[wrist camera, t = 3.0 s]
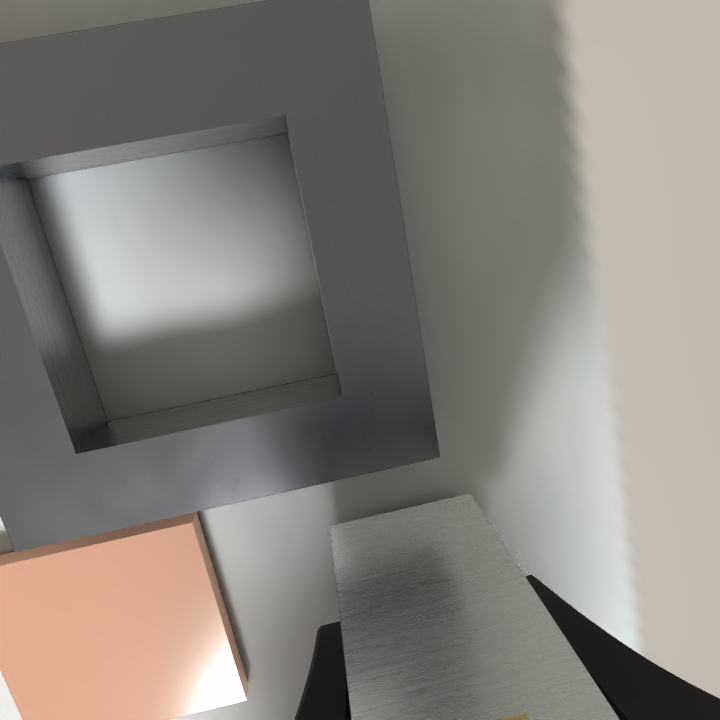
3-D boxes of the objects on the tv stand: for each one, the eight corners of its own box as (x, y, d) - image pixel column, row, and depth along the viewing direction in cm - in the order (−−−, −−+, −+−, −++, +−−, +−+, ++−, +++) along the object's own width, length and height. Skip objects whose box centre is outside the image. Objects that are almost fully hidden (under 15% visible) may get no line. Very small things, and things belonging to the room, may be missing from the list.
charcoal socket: (421, 426, 15) (439, 456, 13) (54, 507, 14) (15, 552, 12) (354, 23, 12) (366, -16, 10) (-101, 99, 11) (-184, 73, 9)
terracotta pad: (248, 683, 16) (246, 700, 15) (47, 732, 16) (37, 752, 15) (196, 510, 14) (192, 522, 14) (-29, 561, 14) (-43, 575, 13)
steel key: (489, 627, 16) (656, 972, 8) (360, 660, 16) (417, 1045, 8) (467, 474, 14) (643, 725, 7) (325, 506, 14) (356, 802, 7)
